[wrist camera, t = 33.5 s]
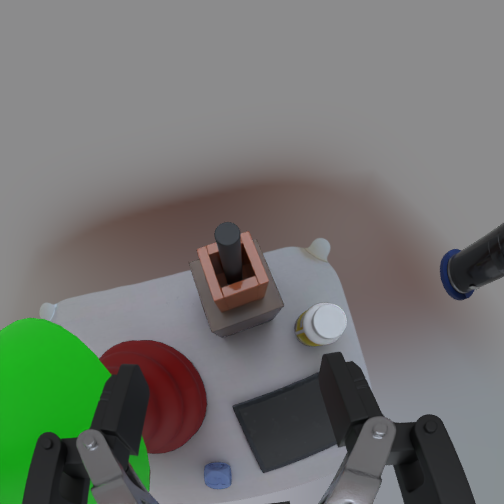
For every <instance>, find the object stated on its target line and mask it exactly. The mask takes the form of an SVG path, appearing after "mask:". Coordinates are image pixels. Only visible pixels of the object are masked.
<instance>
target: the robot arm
mask: <svg viewBox="0 0 504 504" xmlns="http://www.w3.org/2000/svg"><path fill="white" fill-rule="evenodd" d="M447 272H448V278H449V281H450V283H451V285H452V286H453V288H454V289H455V290H456V291H457V292H459V293H462V294H465V293H468V292H469V291H471V290H474V289H476V290H477V289H479V287H481V286H483V285H486V284H488V283H491V282H493V281H495V280H497V279H500V278H502V277H503V276H504V223H503V224H501V225H500V226H498V227H497V228H496V229H494V230H493V231H491V232H490V233H488V234H487V235H485V236H484V237H482V238H481V239H479V240H478V241H476V242H474V243H473V244H471V245H470V246H468V247H467V248H465V249H463V250H462V251H460V252H458V253H456V254H454V255H453V256H451V258H450V259H449V261H448V265H447ZM319 387H320V391H321V394H322V397H323V400H324V403H325V407H326V410H327V413H328V416H329V419H330V423H331V426H332V429H333V432H334V436H335V439H336V442H337V445H338V447H342V446H346V448H347V451H348V452H347V454H346V456H345V458H344V460H343V462H342V464H341V466H340V468H339V470H338V472H337V474H336V476H335V477H334V479H333V481H332V483H331V485H330V486H329V488H328V489H327V491H326V493H325V494H324V495H323V497H322V499H321V500H320V502H319V503H318V504H372V503H373V501H374V499H375V497H376V494H377V492H378V490H379V488H380V485H381V482H382V479H381V474H382V471H383V469H384V466H385V465H393V466H394V469H395V473H396V476H397V480H398V483H399V486H400V490H401V493H402V497H403V500H404V504H476V503H475V500H474V497H473V494H472V492H471V489H470V486H469V483H468V481H467V478H466V475H465V473H464V470H463V467H462V465H461V463H460V460H459V458H458V455H457V453H456V451H455V448H454V446H453V444H452V441H451V440H450V437H449V435H448V433H447V430H446V428H445V426H444V424H443V422H442V421H441V419H440V418H439V417H437V416H435V415H430V414H429V415H424V416H422V417H420V418H419V419H418V420H417V422H410V423H395V422H392V421H391V420H390V419H388V418H386V417H384V416H383V414H382V413H381V411H380V408H379V406H378V404H377V402H376V400H375V397H374V395H373V393H372V391H371V389H370V387H369V385H368V383H367V380H365V376H364V374H363V372H362V370H361V368H360V367H359V366H357V365H356V364H355V363H354V362H353V361H351V362H345V360H344V357H343V355H342V353H341V352H335V353H329V354H324V355H323V356H322V361H321V367H320V372H319ZM149 397H150V391H149V386H148V383H147V381H146V379H145V377H144V375H143V373H142V371H141V368H140V366H139V365H137V364H121V366H120V368H119V371H118V373H117V375H116V374H112V375H111V376H110V378H109V379H108V380H107V381H106V382H105V385H104V388H103V390H102V393H101V396H100V401H99V402H98V405H97V408H96V410H95V413H94V417H93V420H92V423H91V426H90V428H89V430H85V431H83V432H82V433H80V434H79V436H78V437H76V438H62V439H60V438H59V437H58V436H57V435H56V434H55V433H52V432H45V433H43V434H42V435H40V436H39V438H38V440H37V443H36V446H35V449H34V453H33V456H32V460H31V464H30V468H29V472H28V476H27V480H26V485H25V490H24V495H23V501H22V504H87V503H88V494H89V487H90V480H91V482H92V484H93V487H92V488H91V492H92V495H93V497H94V499H95V501H96V503H97V504H159V503H158V502H157V501H156V500H155V499H154V498H153V497H152V496H151V494H150V493H149V492H148V491H147V489H146V488H145V486H144V485H143V483H142V482H141V480H140V479H139V477H138V475H137V474H136V472H135V471H134V469H133V467H132V466H131V464H130V463H129V456H130V455H134V456H138V454H139V448H140V442H141V437H142V431H143V426H144V421H145V416H146V411H147V406H148V402H149ZM272 504H290V502H289V501H287V502H280V503H272Z"/></svg>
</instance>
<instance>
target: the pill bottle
mask: <svg viewBox="0 0 504 504" xmlns="http://www.w3.org/2000/svg"><path fill="white" fill-rule="evenodd" d="M346 324H347V319H346V315H345V313H344V311H343V310H342V309H341V308H340V307H339V306H337V305H334V304H330V303H318V304H316V305H314V306H312V307H311V308H309V309H308V310H307V311H305V312H304V313H303V314H301V315H300V316H299V317H298V319H297V321H296V323H295V334H296V337H297V338H298V340H299V341H300V342H301V343H303V344H304V345H307V346H321V345H328V344H331V343H333V342H335V341H336V340H337V339H338V338H339V337H340V336H341V334H342V333H343V331H344V330H345V328H346Z"/></svg>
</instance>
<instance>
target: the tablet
mask: <svg viewBox="0 0 504 504" xmlns="http://www.w3.org/2000/svg"><path fill="white" fill-rule="evenodd" d="M233 409H234V411H235V414H236V416H237V418H238V421H239V423H240V425H241V427H242V430H243V432H244V434H245V436H246V439H247V441H248V443H249V445H250V447H251V449H252V451H253V454H254V456H255V458H256V460H257V462H258V464H259V466H260V468H261V470H262V472H263V473H265V472H268V471H271V470H274V469H277V468H280V467H283V466H286V465H288V464H291V463H294V462H296V461H299V460H301V459H304V458H306V457H309V456H311V455H313V454H316V453H318V452H320V451H323V450H325V449H327V448H329V447H331V446H333V445H335V444H337V442H336V439H335V436H334V432H333V429H332V426H331V423H330V419H329V416H328V413H327V410H326V407H325V403H324V400H323V397H322V394H321V391H320V387H319V372H318V373H316V374H313V375H311V376H309V377H307V378H304V379H302V380H300V381H297V382H295V383H293V384H290V385H288V386H285V387H283V388H280V389H278V390H275V391H273V392H270V393H267V394H265V395H262V396H259V397H256V398H254V399H251V400H248V401H245V402H242V403H239V404H236V405H233Z"/></svg>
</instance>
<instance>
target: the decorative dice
mask: <svg viewBox="0 0 504 504" xmlns="http://www.w3.org/2000/svg"><path fill="white" fill-rule="evenodd" d="M204 479H205V484H206V485H207V486H208V487H210V488H213V489H225V488H228V487H229V486H230V485H231V469H230V466H229V465H228V464H226V463H221V462H215V463H210V464H207V465H206V466H205V469H204Z"/></svg>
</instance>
